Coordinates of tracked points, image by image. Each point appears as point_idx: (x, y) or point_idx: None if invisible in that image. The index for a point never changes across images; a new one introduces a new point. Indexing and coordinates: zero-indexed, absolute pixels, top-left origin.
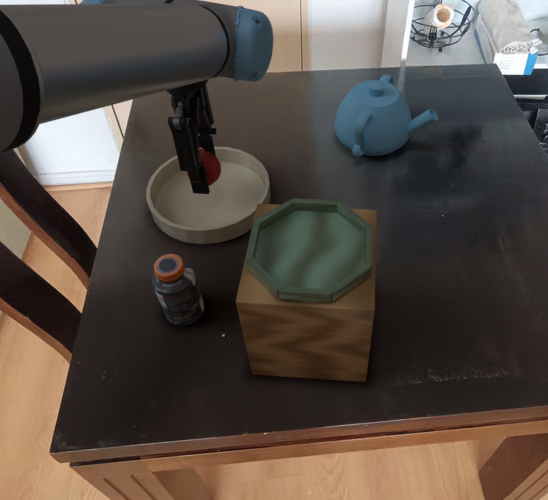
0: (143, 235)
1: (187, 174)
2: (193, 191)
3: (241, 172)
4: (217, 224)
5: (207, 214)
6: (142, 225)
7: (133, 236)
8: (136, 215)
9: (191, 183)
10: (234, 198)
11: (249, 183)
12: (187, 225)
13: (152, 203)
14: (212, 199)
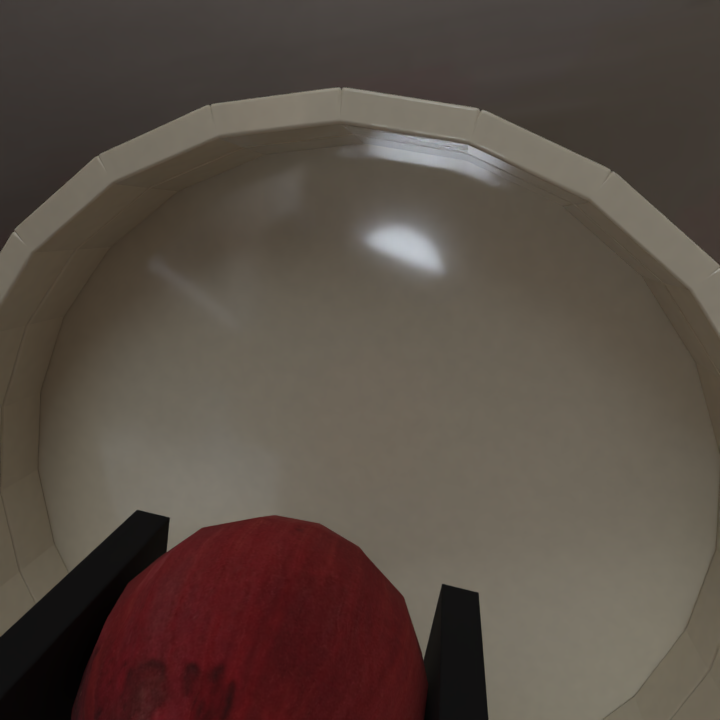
0: (78, 105)
1: (169, 557)
2: (124, 526)
3: (560, 687)
4: None
5: (217, 478)
6: (157, 84)
7: (69, 39)
8: (245, 24)
9: (69, 578)
10: None
11: None
12: (138, 369)
13: (158, 164)
14: (336, 510)
